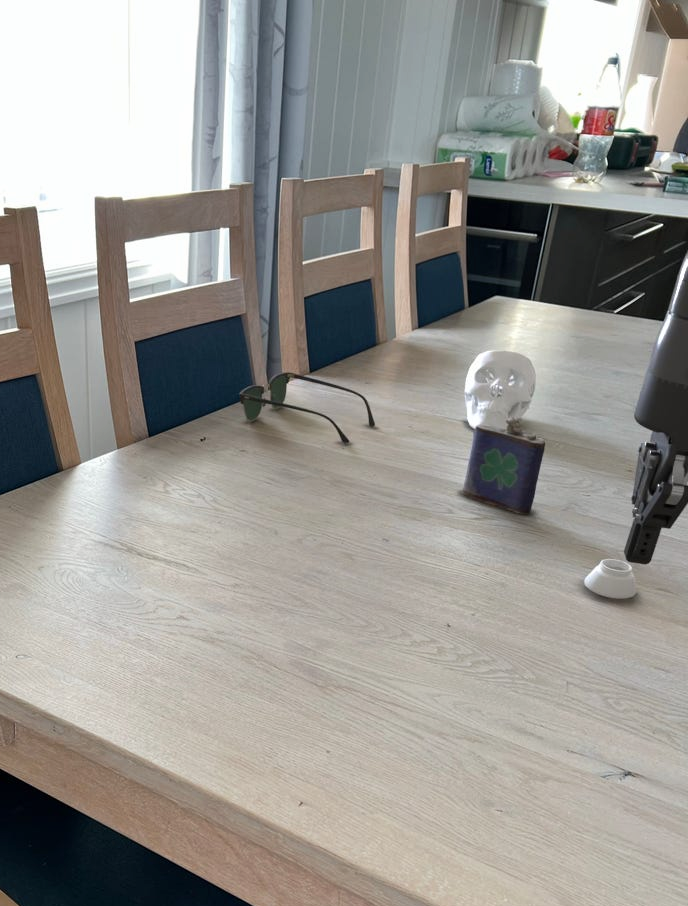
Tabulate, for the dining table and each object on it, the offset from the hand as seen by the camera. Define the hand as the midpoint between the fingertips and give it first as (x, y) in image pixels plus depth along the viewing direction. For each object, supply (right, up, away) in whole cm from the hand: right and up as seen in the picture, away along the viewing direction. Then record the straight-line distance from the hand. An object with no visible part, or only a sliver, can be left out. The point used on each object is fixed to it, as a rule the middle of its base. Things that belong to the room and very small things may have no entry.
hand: (636, 559), depth 90 cm
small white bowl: (+2, -2, +11) cm, 11 cm away
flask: (-4, +10, +31) cm, 33 cm away
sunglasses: (-24, +25, +56) cm, 66 cm away
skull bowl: (+5, +27, +63) cm, 68 cm away
